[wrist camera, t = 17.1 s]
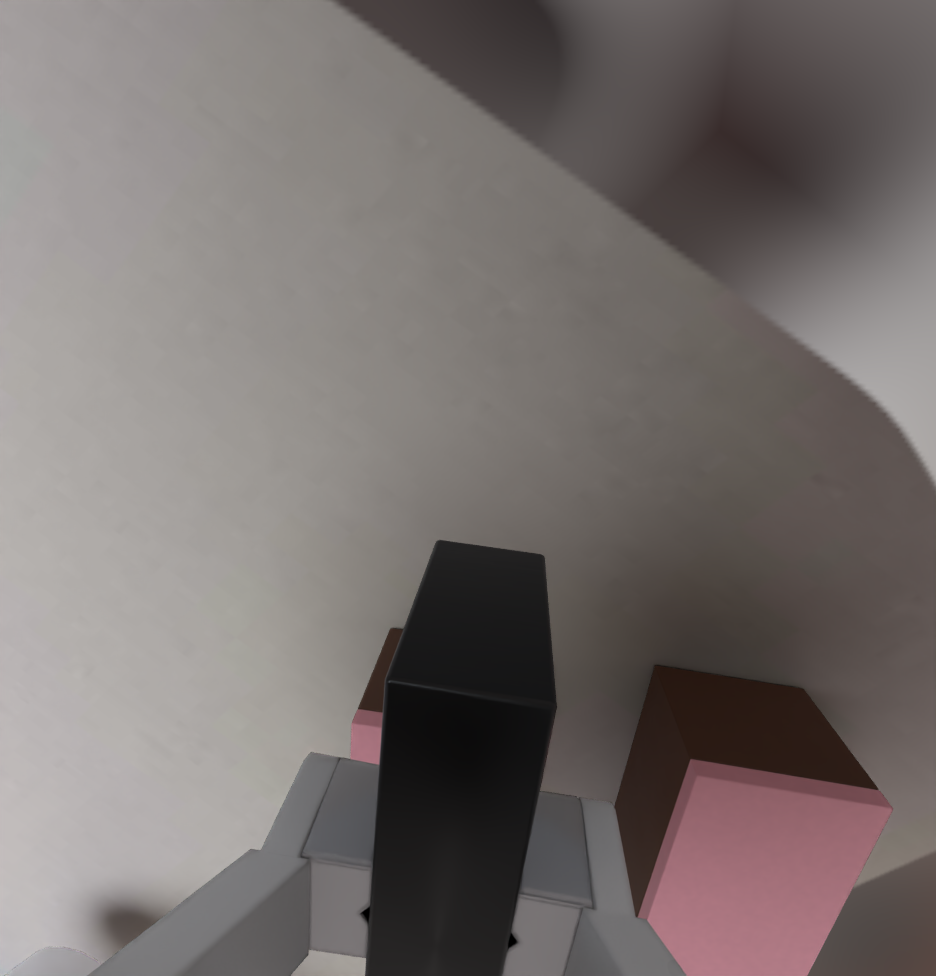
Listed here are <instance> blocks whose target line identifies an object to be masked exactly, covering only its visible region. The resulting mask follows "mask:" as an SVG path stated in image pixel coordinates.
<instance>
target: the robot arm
mask: <svg viewBox="0 0 936 976" xmlns="http://www.w3.org/2000/svg"><path fill="white" fill-rule="evenodd" d="M378 775H379V765H378V764H373V763H368V762H363V761H358V760H353V759H348V758H341V757H335V756H330V755H325V754H319V753H314V752H311V753H310V754H309V755H308V756H307V757H306V758H305V760H304V761H303V763H302V765H301V767H300V769H299V771H298V774H297V776H296V778H295V780H294V782H293V784H292V786H291V788H290V790H289V792H288V794H287V797H286V799H285V801H284V803H283V805H282V807H281V809H280V811H279V813H278V815H277V817H276V820H275V822H274V824H273V826H272V828H271V830H270V832H269V834H268V836H267V838H266V840H265V842H264V845H263V847H262V849H261V850H255V849H250V850H249V851H247V852H246V853H245V854H244V855H242V856H241V857H240V858H238V859H237V860H236V861H235V862H233V863H232V864H231V865H229V866H228V867H227V868H225V869H224V870H223V871H222V872H220V873H219V874H218V875H216V876H215V877H214V878H213V879H211V880H210V881H209V882H207V883H206V884H205V885H204V886H202V887H201V888H200V889H198V890H197V891H196V892H194V893H193V894H192V895H191V896H189V897H188V898H187V899H185V900H184V901H183V902H182V903H180V904H179V905H178V906H176V907H175V908H174V909H173V910H171V911H170V912H169V913H167V914H166V915H165V916H164V917H162V918H161V919H160V920H158V921H157V922H156V923H154V924H153V925H152V926H151V927H149V928H148V929H147V930H145V931H144V932H143V933H142V934H140V935H139V936H138V937H136V938H135V939H134V940H133V941H131V942H130V943H129V944H127V945H126V946H125V947H123V948H122V949H121V950H120V951H118V952H117V953H116V954H114V955H113V956H112V957H111V958H109V959H108V960H107V961H105V962H104V963H103V964H102V965H100V966H99V967H98V968H96V969H95V970H94V971H92V972H91V973H90V974H89V975H87V976H290V975H291V974H292V973H293V972H294V971H295V970H296V968H297V967H298V966H299V965H300V964H301V963H302V961H303V960H304V959H305V958H306V957H307V956H308V949H309V950H316V951H322V952H329V953H335V954H342V955H348V956H355V957H362V958H366V956H367V941H368V925H369V910H370V895H371V880H372V865H373V850H374V835H375V820H376V805H377V790H378ZM502 976H687V975H686V974H685V972H684V971H683V969H682V968H681V967H680V965H679V964H678V962H677V961H676V960H675V958H674V957H673V956H672V954H671V953H670V951H669V950H668V949H667V947H666V946H665V944H664V943H663V942H662V940H661V939H660V937H659V936H658V935H657V933H656V932H655V930H654V929H653V928H652V926H651V925H650V924H649V922H648V921H647V919H642V918H638V917H636V916H635V911H634V905H633V900H632V895H631V889H630V884H629V879H628V874H627V868H626V863H625V858H624V852H623V847H622V842H621V836H620V831H619V826H618V820H617V815H616V810H615V808H614V806H613V804H612V803H611V802H605V801H599V800H593V799H587V798H581V797H579V798H578V797H577V796H571V795H564V794H558V793H551V792H545V791H540V792H539V797H538V802H537V807H536V811H535V816H534V821H533V826H532V831H531V836H530V841H529V846H528V851H527V856H526V861H525V865H524V870H523V875H522V880H521V885H520V890H519V895H518V900H517V905H516V910H515V914H514V919H513V924H512V929H511V934H510V939H509V944H508V949H507V954H506V959H505V963H504V968H503V973H502Z"/></svg>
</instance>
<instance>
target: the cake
mask: <svg viewBox="0 0 936 976" xmlns="http://www.w3.org/2000/svg"><path fill="white" fill-rule="evenodd" d="M614 808H615V810H616V815H617V820H618V826H619V831H620V836H621V842H622V847H623V852H624V858H625V863H626V868H627V874H628V879H629V884H630V889H631V895H632V900H633V905H634V911H635V916H636V917H638V918H642V919H647V921H648V922H649V924H650V925H651V926H652V928H653V929H654V930H655V932H656V933H657V935H658V936H659V937H660V939H661V940H662V942H663V943H664V944H665V946H666V947H667V949H668V950H669V951H670V953H671V954H672V956H673V957H674V958H675V960H676V961H677V962H678V964H679V965H680V967H681V968H682V969H683V971H684V972H685V974H686V975H687V976H807V975H808V973H809V971H810V969H811V967H812V965H813V963H814V961H815V960H816V958H817V956H818V954H819V952H820V950H821V948H822V946H823V944H824V942H825V940H826V938H827V936H828V934H829V932H830V930H831V929H832V927H833V925H834V923H835V921H836V919H837V917H838V915H839V913H840V911H841V909H842V907H843V905H844V904H845V902H846V900H847V898H848V896H849V894H850V892H851V890H852V888H853V886H854V884H855V882H856V880H857V878H858V877H859V875H860V873H861V871H862V869H863V867H864V865H865V863H866V861H867V859H868V857H869V855H870V853H871V851H872V849H873V848H874V846H875V844H876V842H877V840H878V838H879V836H880V834H881V832H882V830H883V828H884V826H885V824H886V822H887V821H888V819H889V817H890V815H891V813H892V811H893V808H892V806H891V805H890V804H889V802H888V801H887V800H886V798H885V797H884V796H883V794H882V793H881V792H880V791H879V790H878V788H877V786H876V785H875V784H874V782H873V781H872V780H871V778H870V777H869V776H868V774H867V773H866V772H865V770H864V769H863V768H862V766H861V765H860V764H859V762H858V761H857V760H856V758H855V757H854V756H853V754H852V753H851V752H850V750H849V749H848V748H847V746H846V745H845V744H844V742H843V741H842V740H841V738H840V737H839V736H838V734H837V733H836V732H835V730H834V729H833V728H832V726H831V725H830V724H829V722H828V721H827V720H826V718H825V717H824V716H823V714H822V713H821V712H820V710H819V709H818V708H817V706H816V705H815V704H814V702H813V701H812V700H811V698H810V697H809V696H808V694H807V693H806V692H805V690H804V689H801V688H795V687H789V686H783V685H776V684H770V683H764V682H757V681H751V680H745V679H739V678H732V677H726V676H720V675H713V674H707V673H701V672H695V671H688V670H682V669H676V668H669V667H663V666H657V665H655V667H654V670H653V674H652V677H651V681H650V684H649V688H648V691H647V695H646V698H645V702H644V705H643V709H642V712H641V716H640V719H639V723H638V726H637V730H636V733H635V737H634V740H633V744H632V748H631V751H630V755H629V758H628V762H627V765H626V769H625V772H624V776H623V779H622V783H621V786H620V790H619V793H618V797H617V800H616V804H615V807H614Z"/></svg>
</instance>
